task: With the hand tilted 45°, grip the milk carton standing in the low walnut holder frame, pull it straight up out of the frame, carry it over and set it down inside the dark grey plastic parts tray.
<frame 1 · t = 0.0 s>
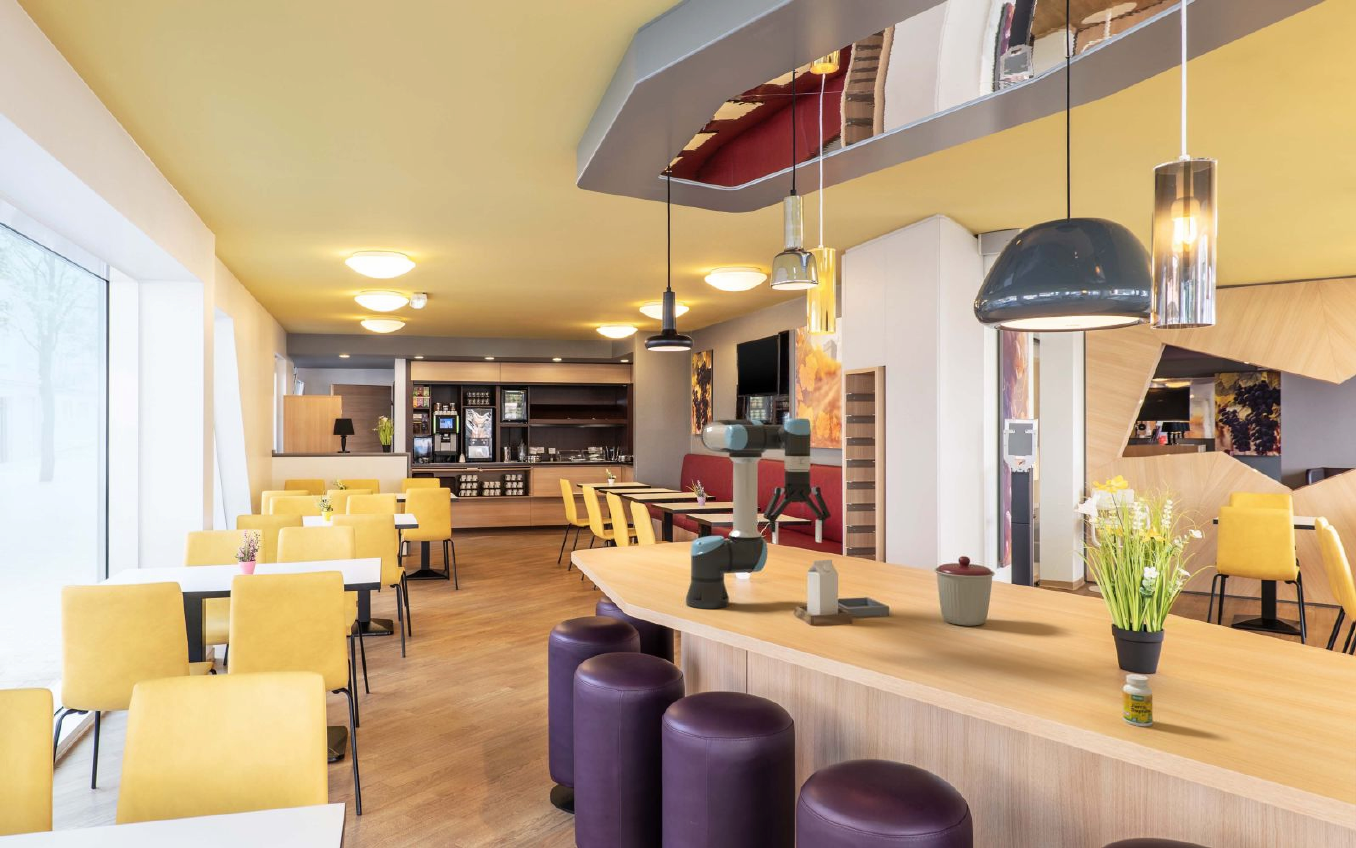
hand: (797, 543, 234), 28 cm above the table, tool pointing down, fingers open, 13 cm apart
parts tray: (857, 611, 268), on the table
milk carton: (822, 619, 257), resting in holder frame
supplement bottle: (1137, 723, 167), on the table
canister: (964, 623, 254), on the table
holder frame: (822, 619, 257), on the table
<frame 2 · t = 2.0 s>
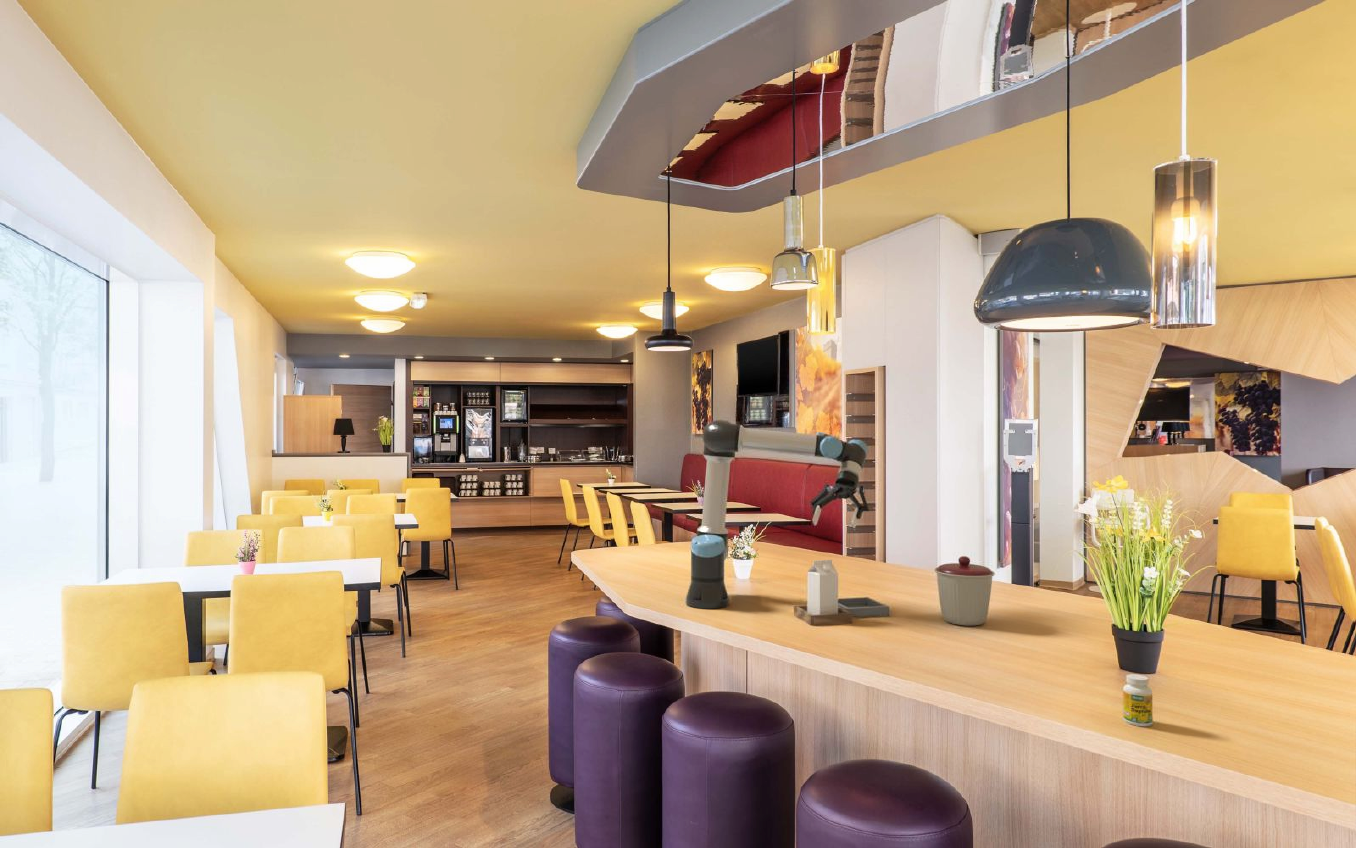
hand: (833, 524, 266), 30 cm above the table, tool tilted 45°, fingers open, 13 cm apart
nothing on the table moved.
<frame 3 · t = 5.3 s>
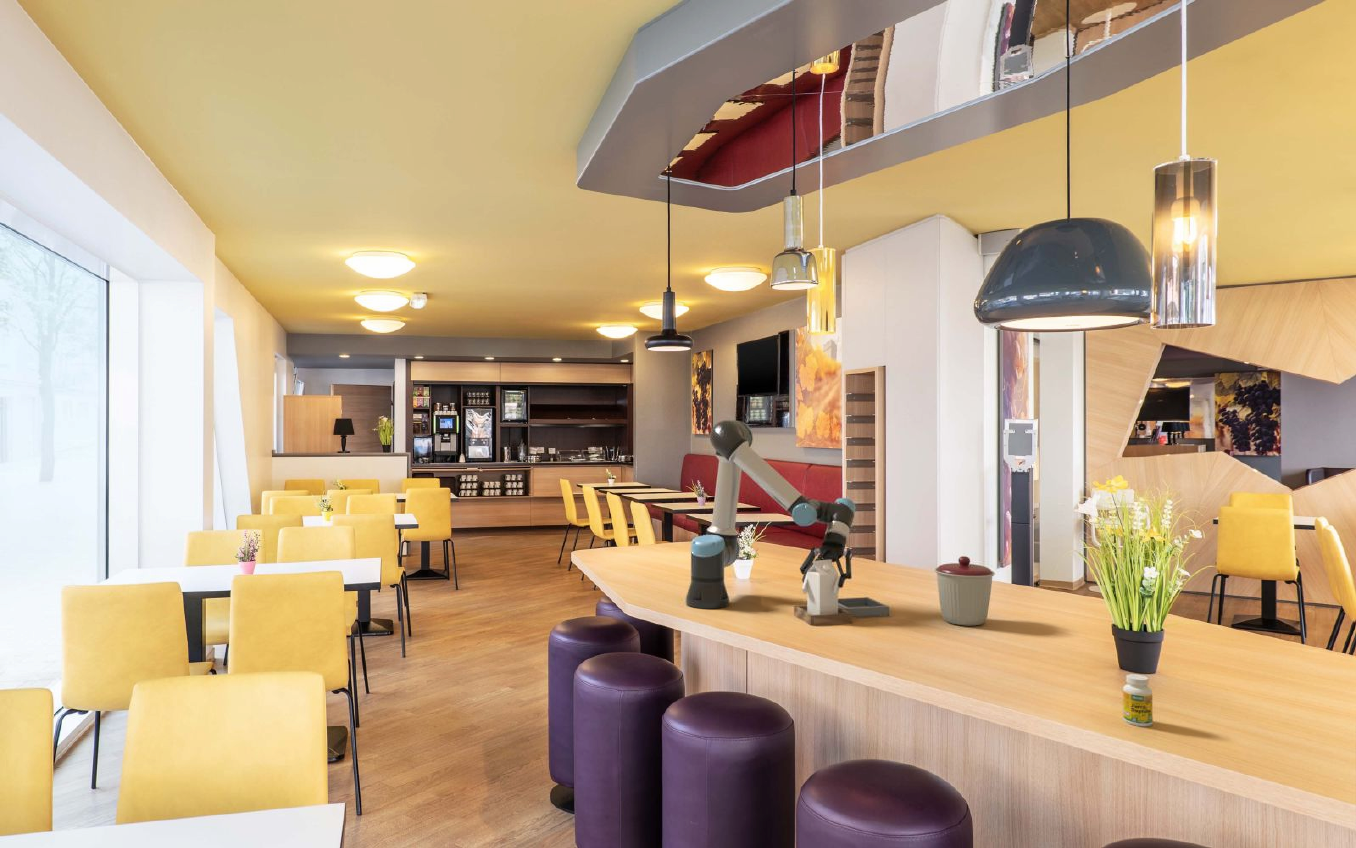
hand: (819, 593, 254), 9 cm above the table, tool tilted 45°, fingers closed on milk carton, 10 cm apart
milk carton: (822, 619, 257), resting in holder frame, touching gripper
everything else where it was.
when the fingers open (11 cm above the table, at t = 11.5 s): milk carton drops 1 cm, resting on parts tray.
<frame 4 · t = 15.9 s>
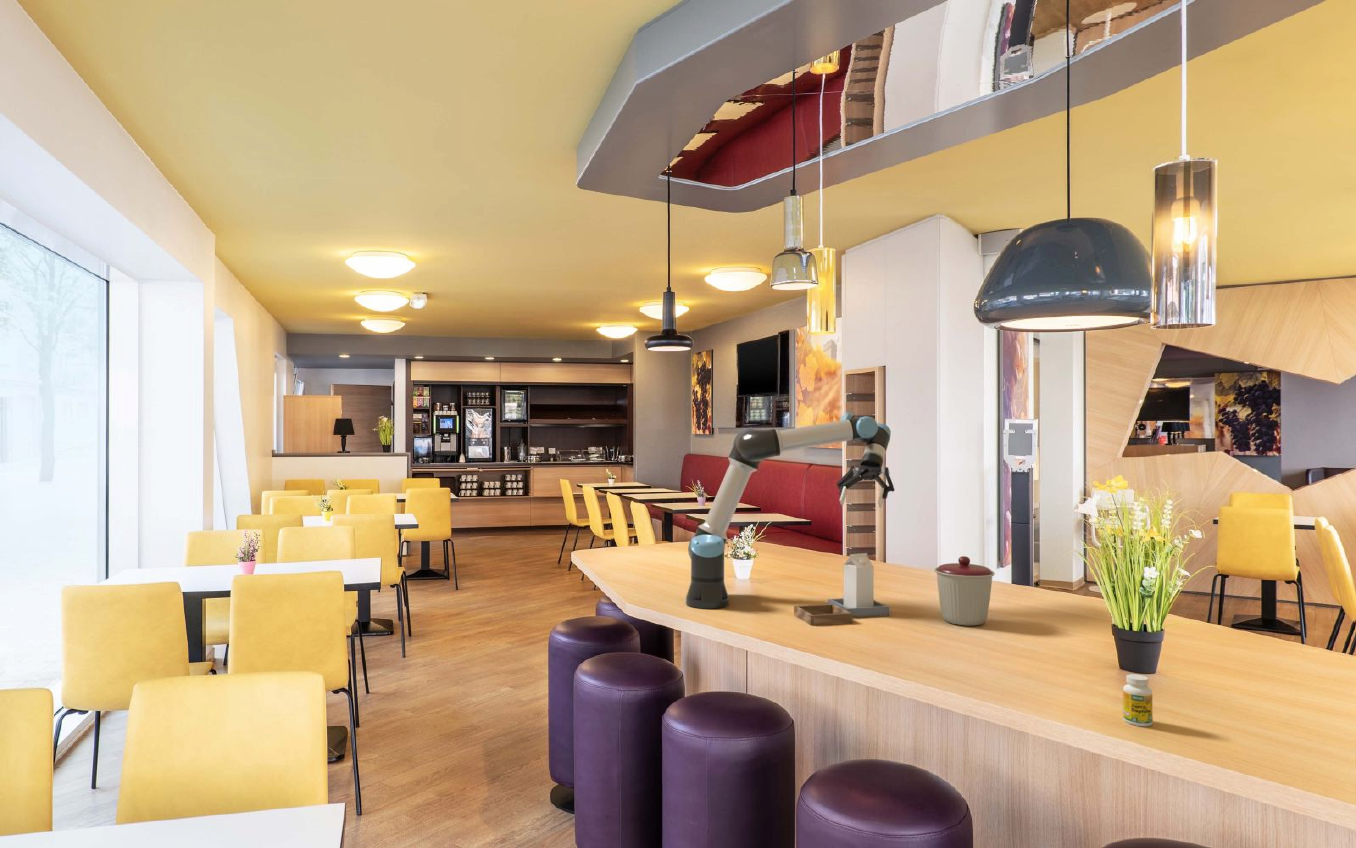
hand: (860, 503, 275), 36 cm above the table, tool tilted 45°, fingers open, 13 cm apart
milk carton: (858, 610, 268), resting on parts tray
everything else where it was.
at the end: milk carton inside the target area on the parts tray (0.2 cm from its centre), point 0.3 cm above the parts tray's base; milk carton tilted 0°; the gripper is holding nothing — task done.
